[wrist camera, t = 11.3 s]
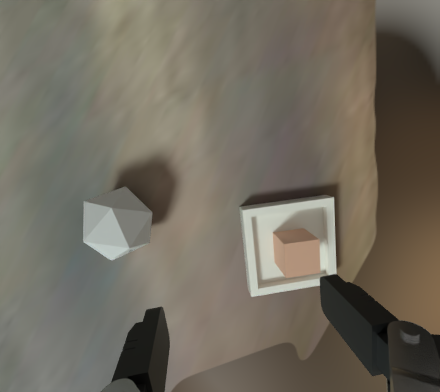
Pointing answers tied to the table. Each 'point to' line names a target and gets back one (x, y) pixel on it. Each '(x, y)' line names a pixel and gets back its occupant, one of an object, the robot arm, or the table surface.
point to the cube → (296, 252)
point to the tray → (282, 221)
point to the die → (116, 223)
